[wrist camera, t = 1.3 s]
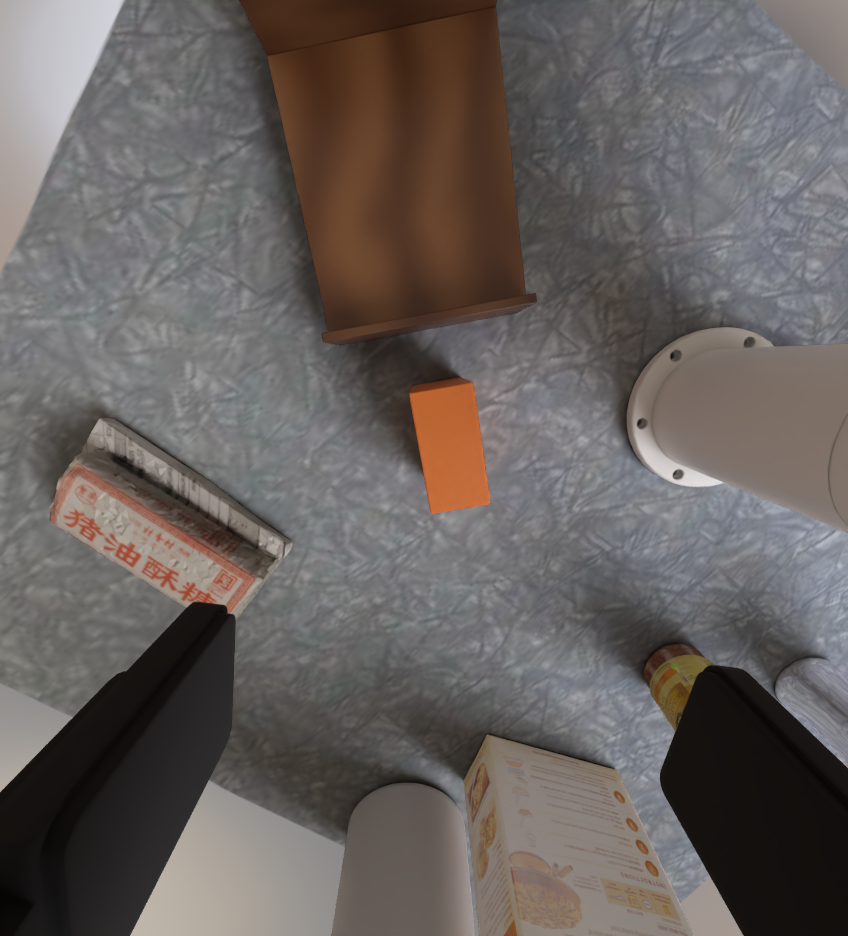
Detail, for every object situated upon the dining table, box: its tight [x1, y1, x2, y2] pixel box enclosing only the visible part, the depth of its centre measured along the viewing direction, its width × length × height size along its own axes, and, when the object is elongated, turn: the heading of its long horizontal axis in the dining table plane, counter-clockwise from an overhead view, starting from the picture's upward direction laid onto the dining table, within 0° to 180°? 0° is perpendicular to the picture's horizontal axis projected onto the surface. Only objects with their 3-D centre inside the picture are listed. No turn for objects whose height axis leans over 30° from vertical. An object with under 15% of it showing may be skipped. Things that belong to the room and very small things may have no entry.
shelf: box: [239, 0, 537, 345], centre depth 23 cm, size 14×22×11 cm, turn 10°
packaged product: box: [48, 418, 293, 619], centre depth 33 cm, size 18×5×10 cm
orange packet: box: [409, 377, 490, 513], centre depth 30 cm, size 4×8×8 cm, turn 10°
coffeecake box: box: [464, 735, 695, 936], centre depth 34 cm, size 15×7×20 cm, turn 71°
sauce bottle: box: [644, 644, 714, 731], centre depth 30 cm, size 6×6×20 cm
